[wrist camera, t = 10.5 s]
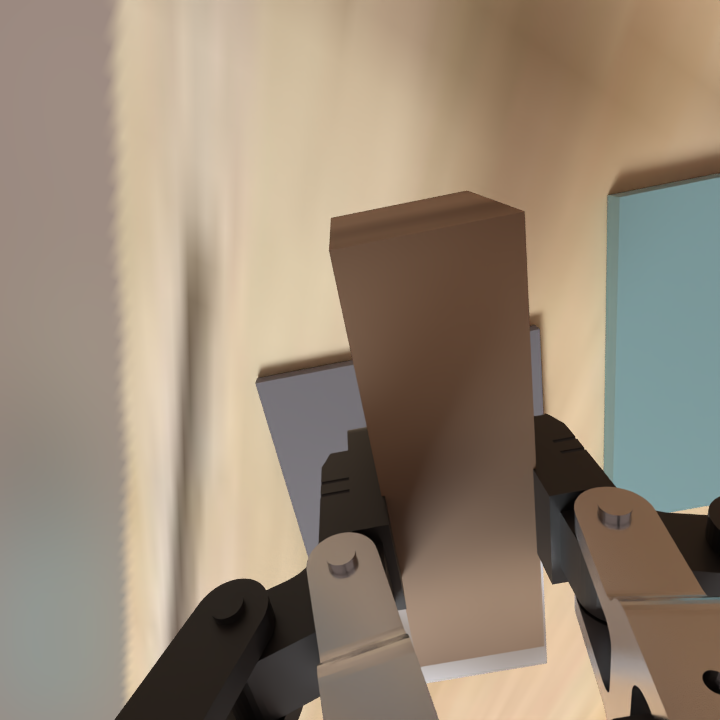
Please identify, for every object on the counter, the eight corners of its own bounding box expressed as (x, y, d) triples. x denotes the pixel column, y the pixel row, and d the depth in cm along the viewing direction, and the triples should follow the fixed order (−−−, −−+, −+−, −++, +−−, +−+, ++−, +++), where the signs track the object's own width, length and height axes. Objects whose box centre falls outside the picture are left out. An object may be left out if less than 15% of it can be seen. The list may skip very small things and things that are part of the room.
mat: (257, 378, 24) (255, 383, 24) (534, 325, 24) (539, 329, 23) (321, 592, 30) (321, 600, 30) (545, 552, 30) (549, 560, 29)
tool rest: (607, 195, 22) (619, 196, 21) (766, 163, 21) (785, 164, 21) (603, 510, 29) (612, 522, 28) (722, 489, 28) (735, 500, 28)
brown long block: (285, 226, 11) (265, 263, 7) (513, 181, 10) (590, 198, 7) (393, 664, 17) (407, 787, 14) (537, 640, 17) (585, 758, 13)
